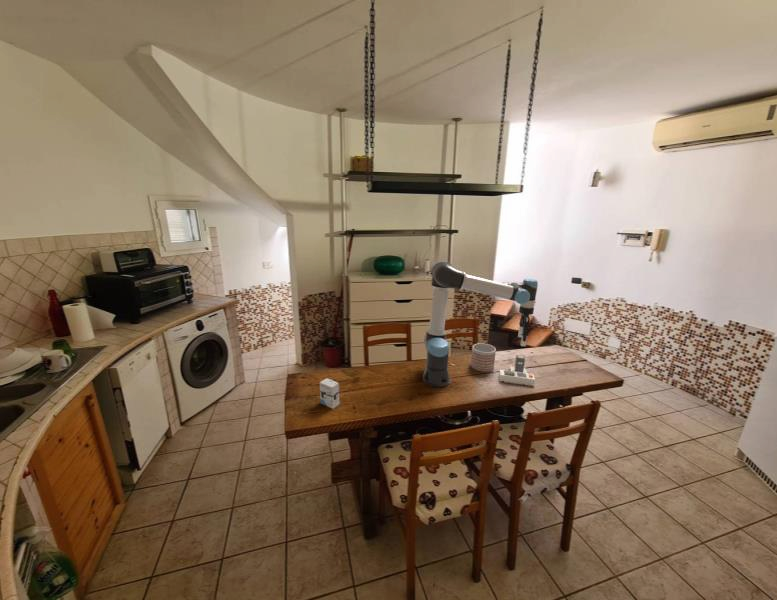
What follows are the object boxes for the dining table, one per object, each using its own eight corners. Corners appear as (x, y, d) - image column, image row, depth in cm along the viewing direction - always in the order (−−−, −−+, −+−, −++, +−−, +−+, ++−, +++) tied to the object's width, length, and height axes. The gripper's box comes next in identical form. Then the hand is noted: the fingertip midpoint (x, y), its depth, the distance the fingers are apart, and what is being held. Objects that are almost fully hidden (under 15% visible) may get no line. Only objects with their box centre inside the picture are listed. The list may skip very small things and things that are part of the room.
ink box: (320, 403, 159) (319, 382, 156) (327, 398, 163) (326, 377, 160) (332, 409, 155) (332, 387, 152) (339, 404, 159) (339, 383, 156)
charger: (515, 372, 193) (517, 357, 190) (514, 368, 197) (516, 354, 194) (523, 373, 192) (525, 358, 189) (522, 369, 196) (524, 355, 193)
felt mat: (511, 374, 191) (511, 373, 191) (509, 367, 200) (510, 366, 200) (527, 376, 189) (527, 375, 189) (525, 369, 197) (525, 368, 197)
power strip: (499, 381, 183) (500, 373, 182) (499, 375, 189) (499, 368, 188) (534, 386, 179) (535, 378, 177) (532, 380, 185) (533, 372, 183)
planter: (473, 360, 208) (474, 341, 205) (495, 364, 203) (497, 345, 199) (468, 369, 197) (470, 349, 193) (491, 374, 191) (494, 354, 187)
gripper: (537, 313, 171) (531, 350, 177) (530, 301, 194) (525, 334, 200) (522, 312, 173) (517, 348, 179) (517, 300, 196) (512, 333, 202)
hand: (521, 341), depth 189 cm, fingers open, 13 cm apart
